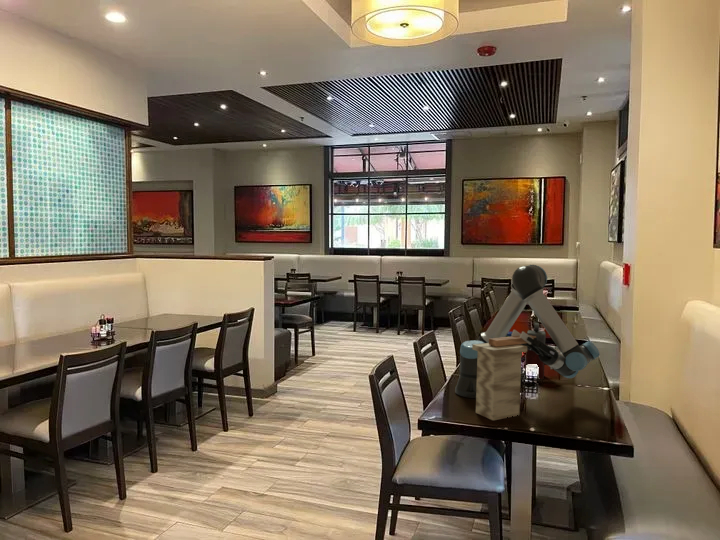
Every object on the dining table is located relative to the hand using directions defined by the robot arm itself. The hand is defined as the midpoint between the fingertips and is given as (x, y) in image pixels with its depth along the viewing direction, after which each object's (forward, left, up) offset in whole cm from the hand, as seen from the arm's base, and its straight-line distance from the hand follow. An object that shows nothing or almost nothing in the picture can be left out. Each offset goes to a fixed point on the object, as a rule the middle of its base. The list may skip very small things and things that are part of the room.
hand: (517, 333), depth 210 cm
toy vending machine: (-34, +50, -32) cm, 68 cm away
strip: (0, -2, -4) cm, 5 cm away
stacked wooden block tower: (0, -9, -32) cm, 33 cm away
